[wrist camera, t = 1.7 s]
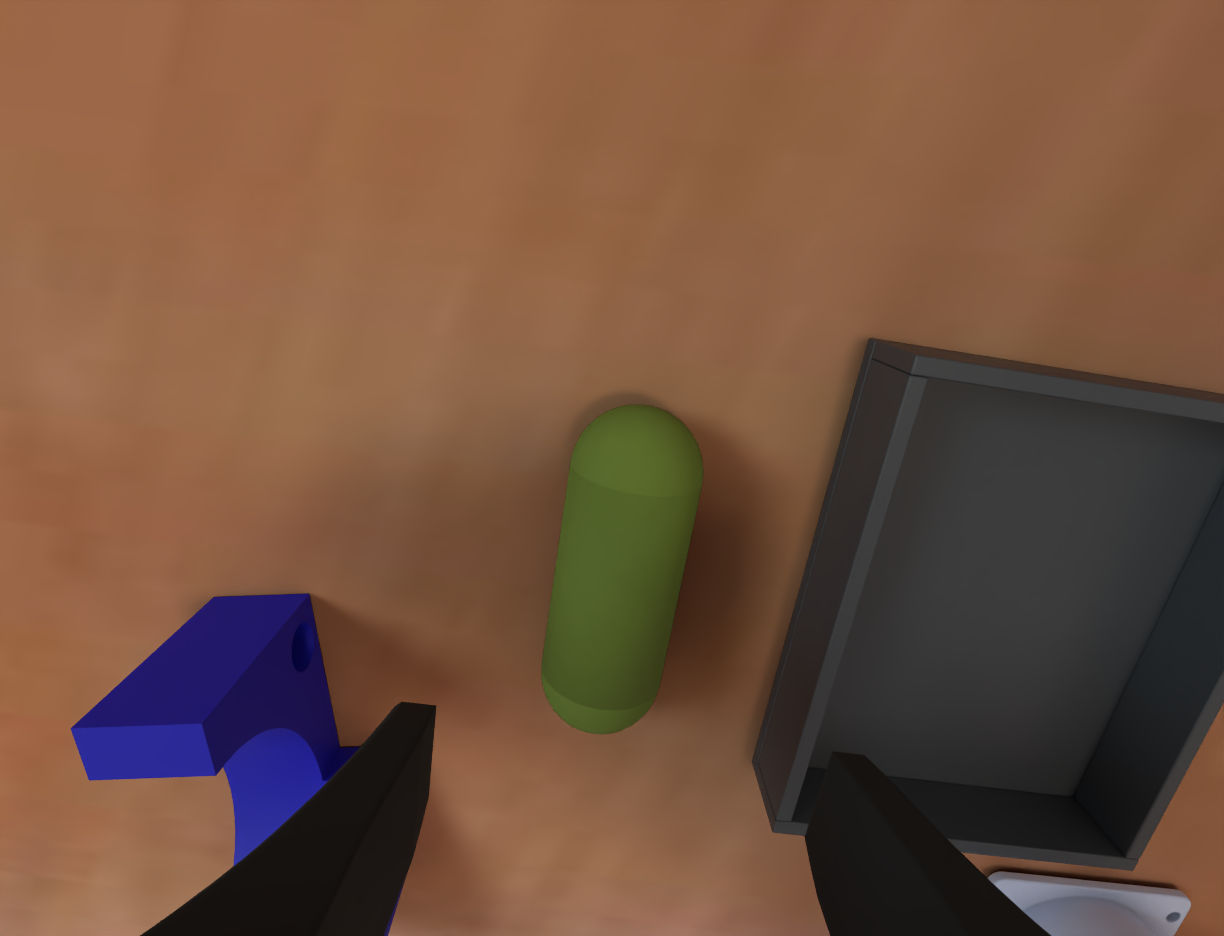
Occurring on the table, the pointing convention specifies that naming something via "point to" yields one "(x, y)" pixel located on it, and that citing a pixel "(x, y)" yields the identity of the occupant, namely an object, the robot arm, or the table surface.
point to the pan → (1009, 605)
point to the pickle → (619, 566)
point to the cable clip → (227, 712)
